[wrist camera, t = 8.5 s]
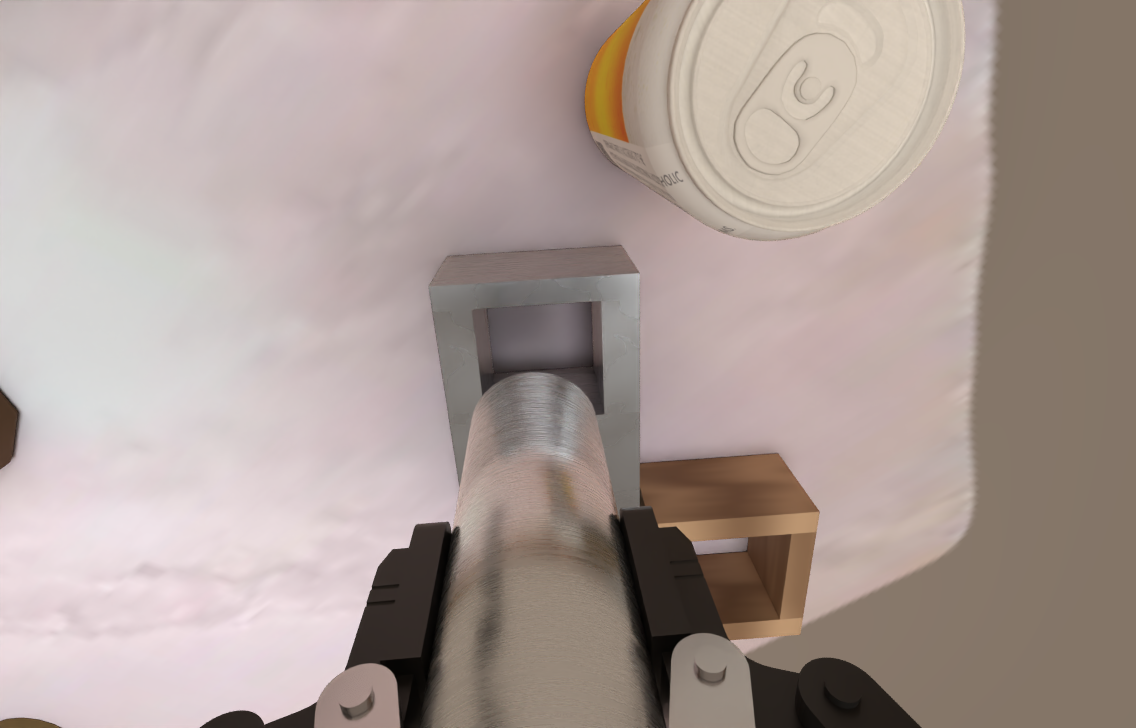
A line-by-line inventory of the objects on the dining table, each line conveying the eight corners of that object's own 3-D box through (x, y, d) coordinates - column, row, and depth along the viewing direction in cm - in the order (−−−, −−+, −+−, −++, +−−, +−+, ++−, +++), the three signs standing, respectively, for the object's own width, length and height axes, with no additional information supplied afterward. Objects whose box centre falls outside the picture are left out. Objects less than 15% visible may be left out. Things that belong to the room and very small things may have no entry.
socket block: (485, 533, 32) (477, 602, 28) (447, 256, 26) (428, 286, 21) (625, 523, 33) (639, 589, 28) (621, 245, 26) (639, 273, 22)
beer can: (757, 79, 24) (1060, 34, 10) (666, 203, 26) (817, 309, 12) (642, -20, 22) (817, -237, 8) (554, 120, 24) (580, 129, 10)
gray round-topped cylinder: (478, 485, 19) (425, 915, 9) (463, 376, 17) (377, 755, 7) (598, 476, 19) (678, 886, 9) (595, 367, 17) (690, 724, 7)
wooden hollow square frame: (634, 575, 34) (649, 646, 30) (633, 464, 31) (650, 524, 27) (765, 565, 35) (800, 634, 30) (778, 453, 31) (819, 511, 27)
